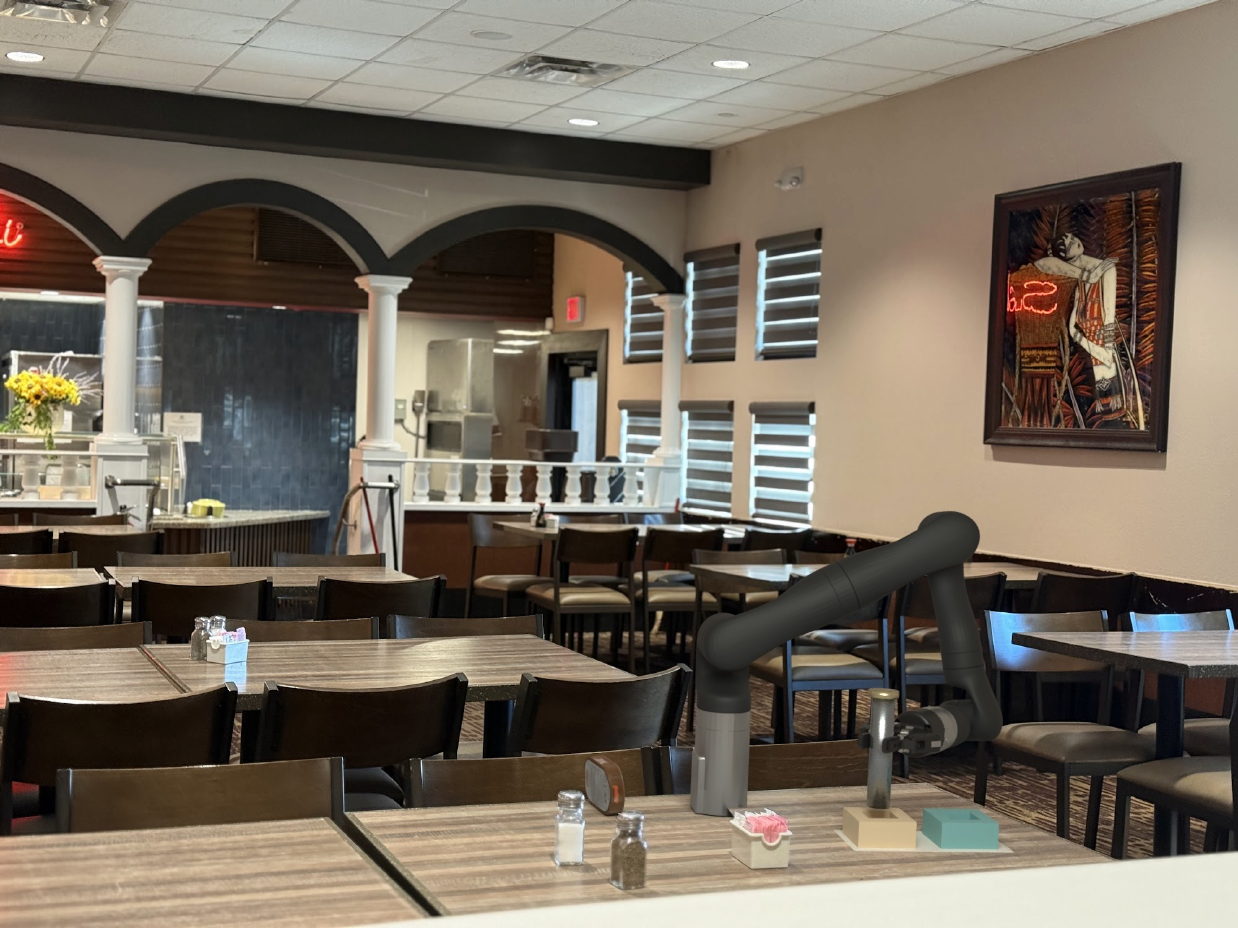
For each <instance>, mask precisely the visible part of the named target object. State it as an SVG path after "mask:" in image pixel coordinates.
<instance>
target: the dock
mask: <svg viewBox="0 0 1238 928" xmlns="http://www.w3.org/2000/svg"><path fill="white" fill-rule="evenodd" d="M922 809H923V810H922V830H917V829H918V828H917V825H918V824H917V823H918V822H917V821H916V820H914V819H913V818H912V817H911V816H909V815H908V814H907V813H906V812H904V811H903V810H902V809H901V808H899V807H890V808H889V809H874V808H870V807H867V806H864V807H862V806H857V807H856V806H855V807H854V806H847V807H846V806H844V807H843V808H842V827H841V829H833V831H834V832H835V833H836V834H837V836H839V837H840V838H841V840H843V841H844V842H845V843H846V844H847V846H849V847H850V848H851V849H852V850H853V852H915V853H916V852H919V853H921V852H922V853H924V852H926V853H928V852H930V853H933V852H934V853H935V852H936V853H937V852H938V853H939V852H940V853H944V852H945V853H1007V854H1008V853H1015V852H1014V851H1013V850H1011V849H1010V848H1009V847H1008V846H1006V845H1005V844H1003V843H1002V842H1001V841H999V831H1000V830H999V829H1000V823H999V822H998V821H996V820H995V819H993V818H992V817H991V816H989V815H988V814H986V813H984V812H983V811H981V810H980V809H978V808H937V807H934V808H929V807H928V808H924V807H923V808H922Z"/></svg>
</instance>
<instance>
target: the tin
mask: <svg viewBox="0 0 1238 928" xmlns="http://www.w3.org/2000/svg"><path fill="white" fill-rule="evenodd" d="M583 765H584V766H583V769H584V790H585V795H586V798H587V800H588V802H589V803H590V805H592V806H593V807H595V808H596V809H597V810H598V811H600V813H602V814H603V815H605V816H611V815H612V816H613V815H618V813H621V814H622V813H623V812H624V808H625V805H626V804H625V801H626V794H625V793H626V791H625V782H624V778H623V773H622V772H621V768H620V767H619V765H618V764H616V762H614V761H612V760H611V759H610V758H608V757H607V756H606V755H604V754H599V755H590V756H588V757H587V758H586V759H585V761H584V764H583Z"/></svg>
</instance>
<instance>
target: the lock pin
mask: <svg viewBox="0 0 1238 928" xmlns="http://www.w3.org/2000/svg"><path fill="white" fill-rule="evenodd" d="M868 697H869V698H871V707H870V722H871V723H870V743H869V749H868V764H867V765H868V766H867V787H866V802H865V803H866V804H865V805H866V806H865V807H870V808H874V809H889V808H891V793H892V790H891V789H892V775H893V774H892V772H893V753H894V752H891V753H888V754H887V753H883V752H882V741H883V739H884V738H888V737H893V736H894V721H895V715H896V712H895V711H896V700H898V699H899V697H900V690H897V689H892V688H884V687H871V688H868Z"/></svg>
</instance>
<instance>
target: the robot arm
mask: <svg viewBox="0 0 1238 928" xmlns="http://www.w3.org/2000/svg"><path fill="white" fill-rule="evenodd" d="M980 541H981V533H980V529H979V526H978V524H977V523H976V521H975V520H974V519H973V518H971V517H970V516H969V515H967V514H965V513H962V512H959V511H955V510H946V511H945V510H944V511H943V510H942V511H936V512H932V513H930V514H928V515H926V516H925V517H924V518H923V519H922V520H921V521H920V523H919V525H918V526H917V529H916V530H914V531H912V532H911V533H909V534H907V535H905V536H904V537H901V538H900V539H898V540H894V541H892V542H890V543H887V544H883V545H880V546H877V547H872V548H871V549H870V548H869V549H866V550H863V551H859V552H857V553H853V554H851V555H848V556H844V557H843V558H841V559H838V560H835V561H833V562H831V563H829V564H827V565H825V566H823V567H821V568H819V569H817V570H814V571H813V572H810V573H809V574H807V575H806V576H804V577H802V578H801V579H799V581H797V582H795V584H793V585H792V586H791V587H789V588H788V589H787V590H785V591H784V592H783V593H782V594H780V595H778V596H777V597H775V598H773V600H770V601H769V602H766V603H764V604H762V605H760V606H757V607H755V608H752V609H750V610H748V611H745V612H742V613H738V614H736V615H735V614H732V613H728V612H719V613H715V614H713V615H710V616H709V617H707V618H706V619H705V620H704V621H703V622H702V624H701V625H700V627H699V630H698V632H697V635H696V636H697V637H696V646H695V647H696V649H695V653H696V654H695V693H696V713H695V714H696V715H695V736H694V737H695V739H694V749H693V750H692V751H691V774H690V775H691V778H690V796H689V797H690V798H689V800H690V801H689V805H690V806H691V807H690V808H692V810H693V812H694V813H695V814H705V815H709V816H710V815H711V816H720V817H721V816H724V817H729V816H730V817H732V816H734V814H733V813H732V812H731V810H730V809H738V808H739V809H740V808H741V809H742V808H748V787H749V786H748V785H749V784H748V783H749V766H750V765H749V762H750V760H749V759H750V738H751V735H750V734H751V713H752V712H751V710H752V694H751V688H750V687H751V686H750V678H749V677H750V670H749V669H750V664H752V663H754V662H756V661H757V660H759V659H760V658H762V657H764V656H765V655H767V654H768V653H770V652H771V651H774V650H776V649H777V648H779V647H780V646H781V645H784V644H785V643H787V642H789V641H791V640H793V639H796V638H798V637H800V636H801V637H802V636H804V635H806V634H809V633H811V632H813V631H816V630H818V629H821V628H824V627H826V626H828V625H830V624H833V623H836V622H838V621H840V620H842V619H844V618H846V617H848V616H850V615H852V614H854V613H857V612H858V611H861V610H863V609H865V608H868V607H869V606H870V605H872V604H875V603H876V602H878V601H880V600H881V599H883V598H884V597H887V596H888V595H890V594H893V593H894V592H895V591H897V590H899V589H901V588H902V587H904V586H906V585H908V584H909V583H911V582H913V581H915V580H917V579H920V578H922V577H925V576H926V577H927V582H928V586H929V589H930V596H931V599H932V603H933V609H934V614H935V620H936V621H935V622H936V627H937V634H938V635H937V636H938V642H939V648H940V649H939V652H940V658H941V666H942V672H943V678H944V682H945V683H946V685H949V686H950V687H954V688H959V689H963V690H965V691H966V692H967V693H968V695H969V697H970V698H971V699H951V700H947V701H943V702H942V703H940V705H936V706H924V707H919V708H915V709H910V710H906V711H904V712H902V713H900V714H899V715H898V716H897V717H896V718H894V736H893V737H888V738H884V739H883V741H882V752H883V753H887V754H888V753H891V752H893V753H894V752H899V753H901V754H903V755H904V756H906V757H908V758H911V759H912V758H914V759H917V758H918V759H919V758H922V757H926V756H930V755H932V754H934V755H935V754H936V753H940V752H943V751H944V750H946V749H950V748H953V747H956V746H959V745H960V744H962V743H963V742H991V741H994V740H996V739H997V738H999V735H1000V734H1001V732H1002V729H1003V726H1004V725H1003V723H1004V719H1003V713H1002V710H1001V708H1000V706H999V703H998V700H997V698H996V696H995V693H994V691H993V688H992V686H991V683H990V681H989V679H988V676H987V673H986V668H985V661H984V660H985V659H984V652H983V646H982V640H981V635H980V630H979V627H978V626H979V625H978V624H977V620H976V618H975V615H974V611H973V609H972V605H971V603H970V600H969V595H968V591H967V586H966V582H965V581H966V579H965V569H964V567H965V562H966V561H968V560H970V558H971V557H972V556H973V555H974V554H975V553H976V551H977V549H978V548H979V544H980ZM870 723H871V721H867V722H865V723H864V724H863V725H862V726H861V727H860V732H859V733H860V734H859V735H857V743H856V744H857V748H858V749H861V750H865V749H868V748H869V743H870Z"/></svg>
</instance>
